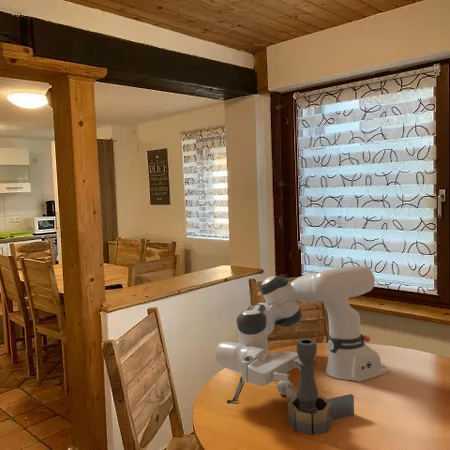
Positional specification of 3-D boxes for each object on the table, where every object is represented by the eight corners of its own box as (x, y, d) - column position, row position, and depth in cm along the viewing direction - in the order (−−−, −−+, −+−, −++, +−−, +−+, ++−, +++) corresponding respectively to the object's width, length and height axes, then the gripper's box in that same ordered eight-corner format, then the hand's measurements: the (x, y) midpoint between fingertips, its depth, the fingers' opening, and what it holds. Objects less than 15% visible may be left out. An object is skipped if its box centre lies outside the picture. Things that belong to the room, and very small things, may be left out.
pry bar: (246, 407, 150) (246, 404, 150) (226, 404, 152) (226, 401, 152) (258, 379, 171) (258, 377, 170) (240, 377, 172) (240, 374, 172)
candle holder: (315, 433, 131) (314, 346, 129) (294, 428, 134) (292, 343, 132) (321, 422, 137) (319, 339, 134) (300, 418, 140) (299, 337, 137)
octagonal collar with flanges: (327, 394, 155) (327, 376, 154) (364, 423, 136) (364, 403, 135) (271, 406, 148) (270, 387, 148) (301, 437, 129) (300, 416, 129)
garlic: (275, 390, 160) (274, 375, 159) (290, 389, 160) (290, 374, 160) (278, 398, 154) (278, 382, 154) (295, 396, 154) (294, 381, 154)
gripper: (277, 361, 154) (314, 371, 146) (239, 383, 139) (278, 395, 130) (276, 343, 154) (314, 351, 145) (238, 363, 138) (278, 373, 129)
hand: (297, 372), depth 137 cm, fingers open, 8 cm apart
